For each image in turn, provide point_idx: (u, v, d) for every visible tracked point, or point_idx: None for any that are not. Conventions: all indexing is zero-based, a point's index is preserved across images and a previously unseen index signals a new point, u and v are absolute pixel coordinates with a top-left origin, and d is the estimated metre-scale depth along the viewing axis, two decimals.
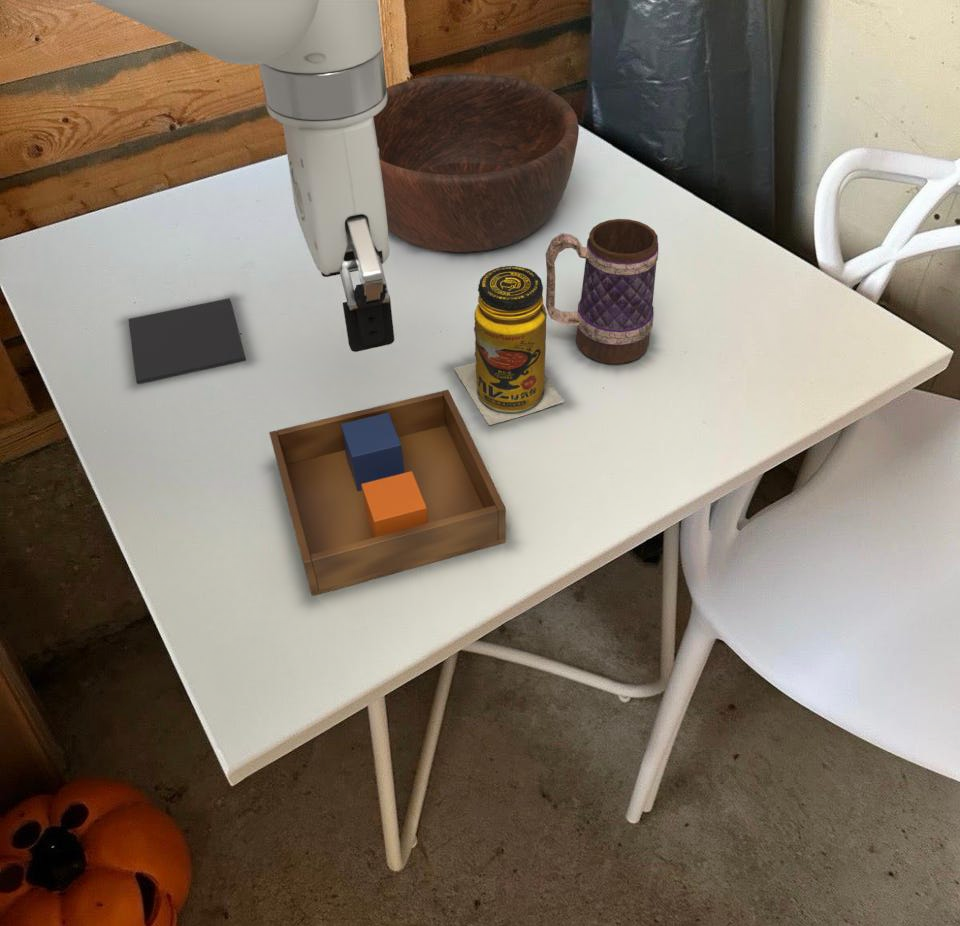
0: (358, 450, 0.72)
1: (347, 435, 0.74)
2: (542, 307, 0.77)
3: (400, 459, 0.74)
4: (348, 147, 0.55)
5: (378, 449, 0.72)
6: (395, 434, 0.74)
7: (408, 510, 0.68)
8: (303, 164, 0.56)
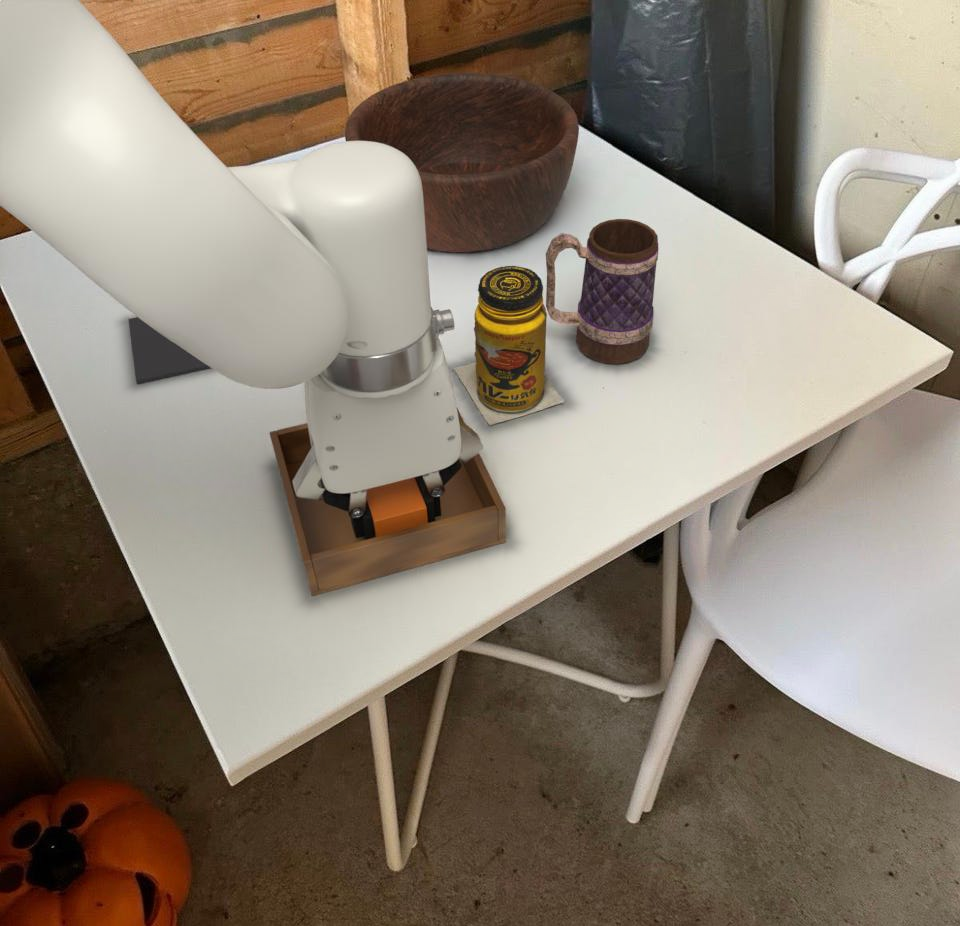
0: None
1: None
2: (542, 307, 0.77)
3: None
4: (309, 388, 0.59)
5: None
6: None
7: (408, 510, 0.68)
8: None
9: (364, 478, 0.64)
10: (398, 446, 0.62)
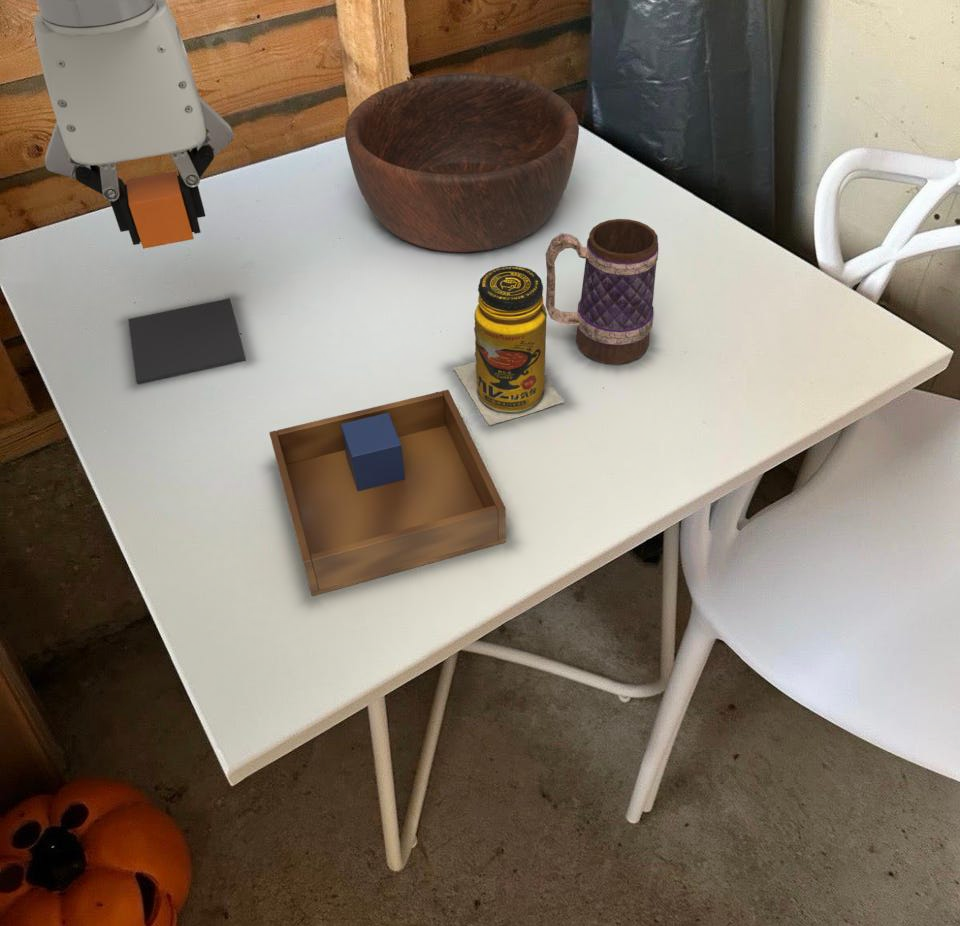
0: (358, 450, 0.72)
1: (347, 435, 0.74)
2: (542, 307, 0.77)
3: (400, 459, 0.74)
4: (36, 38, 0.63)
5: (378, 449, 0.72)
6: (395, 434, 0.74)
7: (163, 196, 0.72)
8: None
9: (105, 146, 0.67)
10: (132, 109, 0.66)
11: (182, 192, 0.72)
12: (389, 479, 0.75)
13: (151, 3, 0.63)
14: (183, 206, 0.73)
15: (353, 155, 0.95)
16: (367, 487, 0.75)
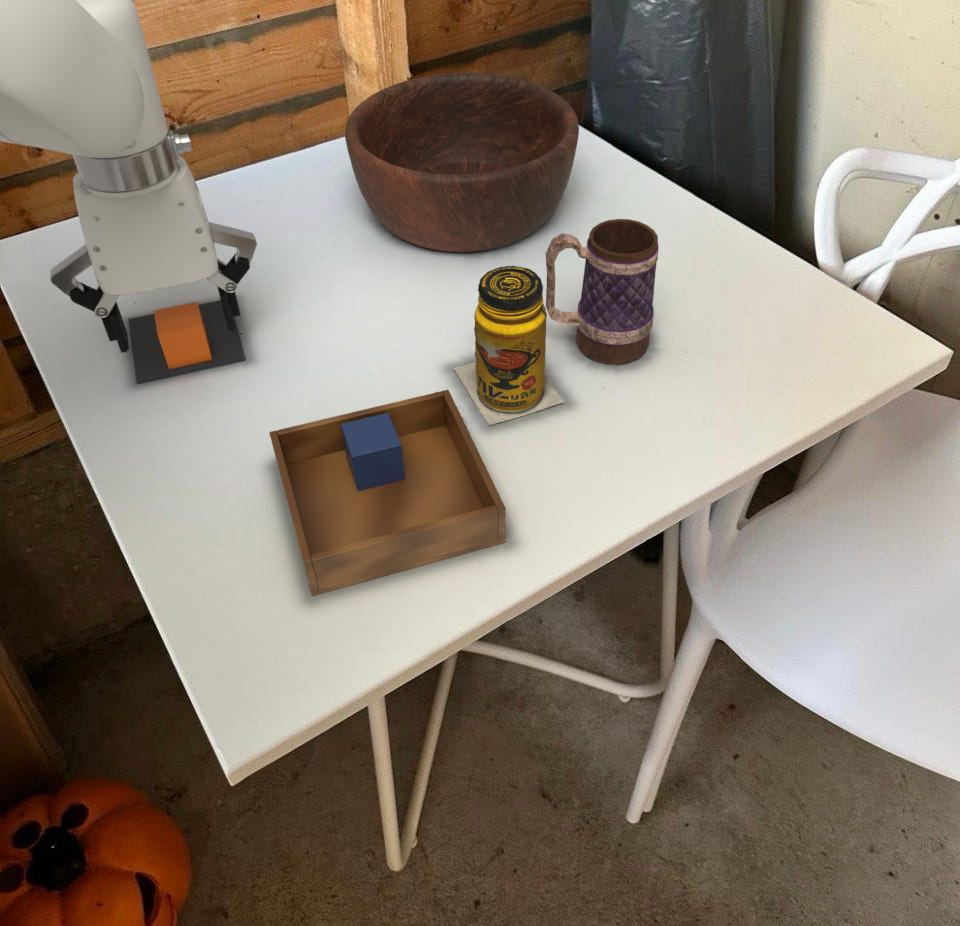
0: (358, 450, 0.72)
1: (347, 435, 0.74)
2: (542, 307, 0.77)
3: (400, 459, 0.74)
4: (75, 196, 0.74)
5: (378, 449, 0.72)
6: (395, 434, 0.74)
7: (187, 328, 0.84)
8: None
9: (132, 281, 0.78)
10: (156, 251, 0.77)
11: (222, 297, 0.83)
12: (389, 479, 0.75)
13: (174, 167, 0.74)
14: (204, 334, 0.85)
15: (353, 155, 0.95)
16: (367, 487, 0.75)
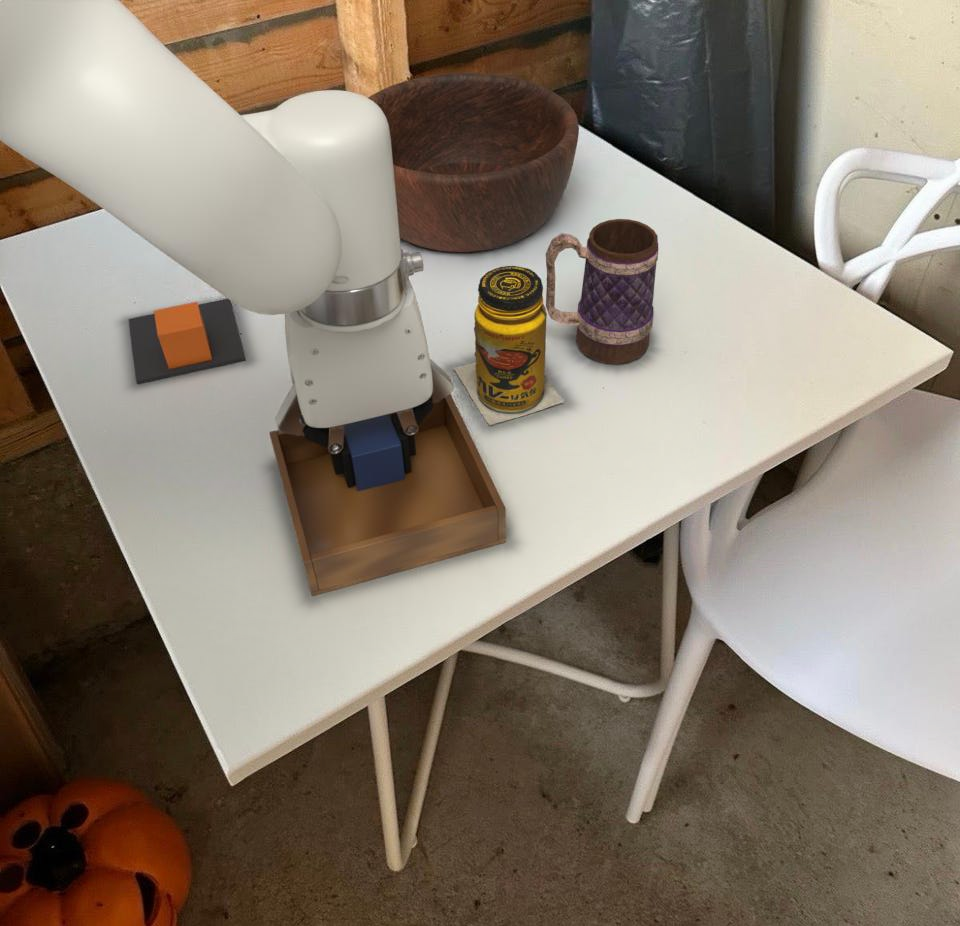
0: (358, 450, 0.72)
1: (347, 435, 0.74)
2: (542, 307, 0.77)
3: (400, 459, 0.74)
4: (289, 325, 0.64)
5: (378, 449, 0.72)
6: (395, 434, 0.74)
7: (187, 328, 0.84)
8: (298, 312, 0.67)
9: (341, 413, 0.68)
10: (372, 382, 0.67)
11: (401, 440, 0.73)
12: (389, 479, 0.75)
13: (403, 292, 0.64)
14: (204, 334, 0.85)
15: None
16: (367, 487, 0.75)
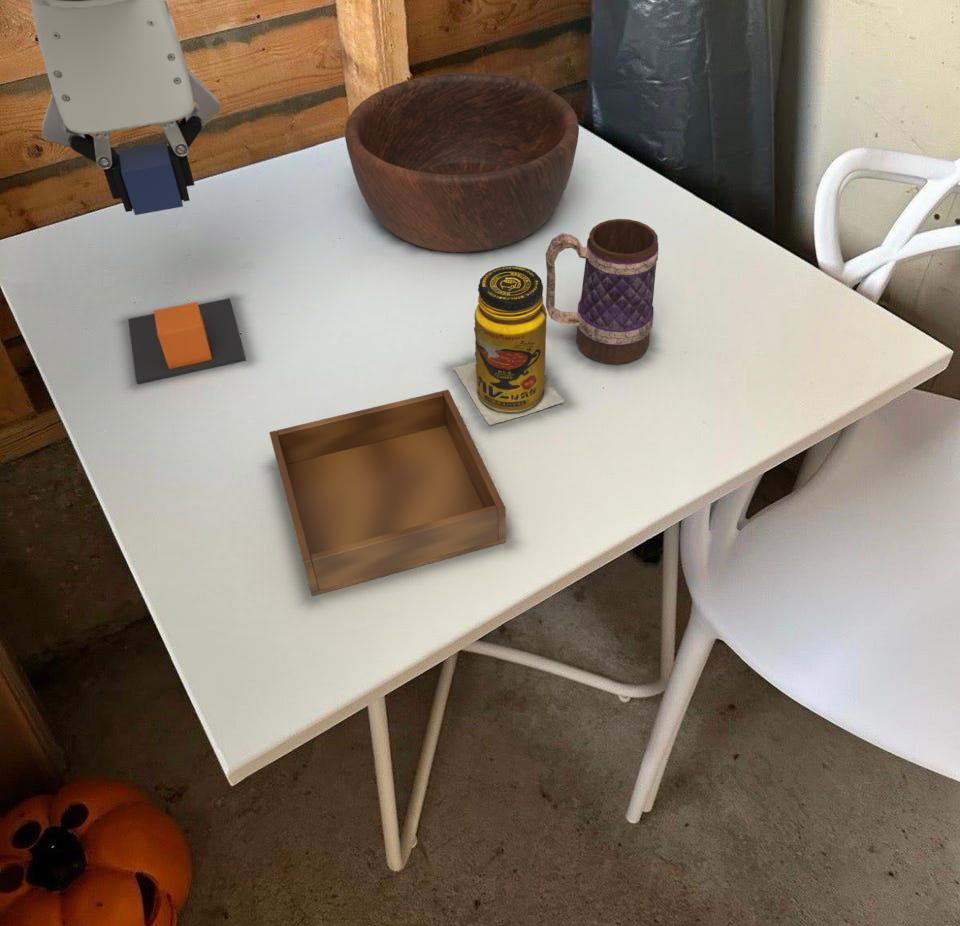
0: (129, 167, 0.75)
1: (121, 157, 0.77)
2: (542, 307, 0.77)
3: (173, 181, 0.77)
4: (33, 12, 0.67)
5: (148, 166, 0.75)
6: (167, 156, 0.77)
7: (187, 328, 0.84)
8: None
9: (98, 115, 0.71)
10: (124, 79, 0.70)
11: (172, 161, 0.76)
12: (166, 204, 0.78)
13: None
14: (204, 334, 0.85)
15: (353, 155, 0.95)
16: (144, 211, 0.78)
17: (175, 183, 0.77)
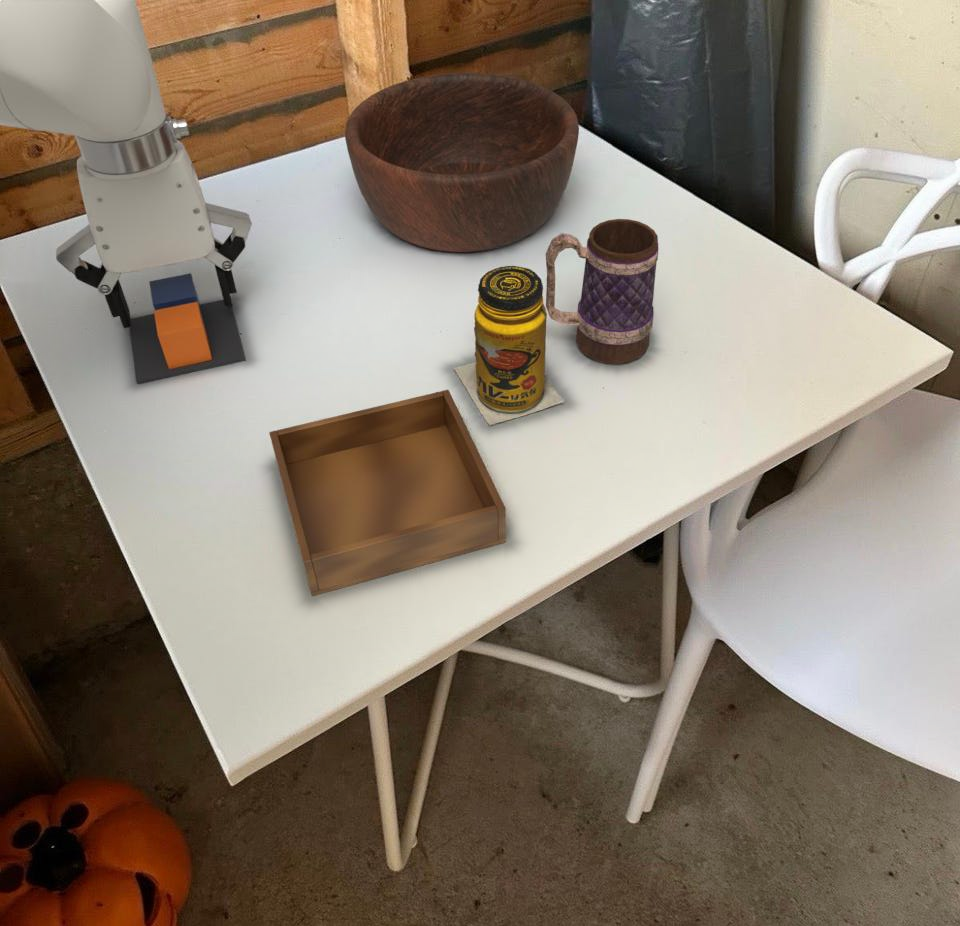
0: (159, 299, 0.87)
1: (152, 289, 0.88)
2: (542, 307, 0.77)
3: None
4: (79, 178, 0.78)
5: (176, 298, 0.87)
6: (192, 288, 0.88)
7: (187, 328, 0.84)
8: None
9: (133, 259, 0.83)
10: (155, 230, 0.81)
11: (218, 275, 0.87)
12: None
13: (172, 150, 0.78)
14: (204, 334, 0.85)
15: (353, 155, 0.95)
16: None
17: None
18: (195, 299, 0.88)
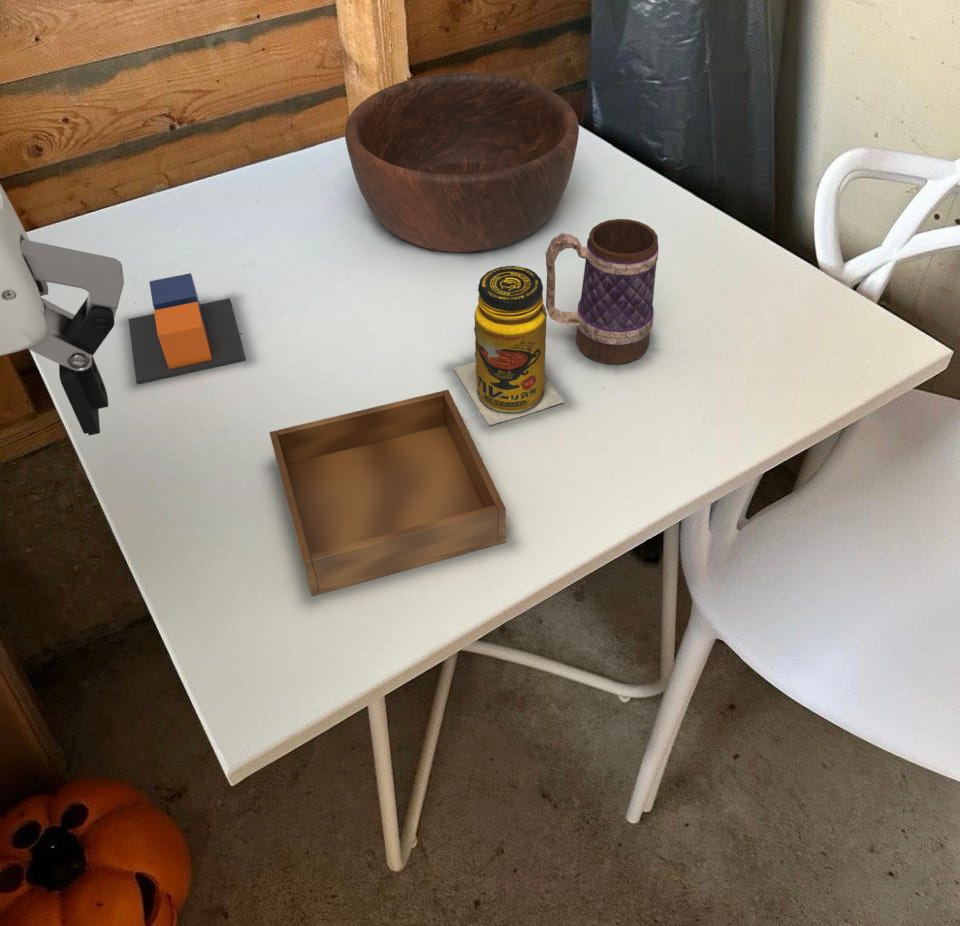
0: (159, 299, 0.87)
1: (152, 289, 0.88)
2: (542, 307, 0.77)
3: None
4: None
5: (176, 298, 0.87)
6: (192, 288, 0.88)
7: (187, 328, 0.84)
8: None
9: None
10: None
11: (63, 380, 0.44)
12: None
13: None
14: (204, 334, 0.85)
15: (353, 155, 0.95)
16: None
17: None
18: (195, 299, 0.88)
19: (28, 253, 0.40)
